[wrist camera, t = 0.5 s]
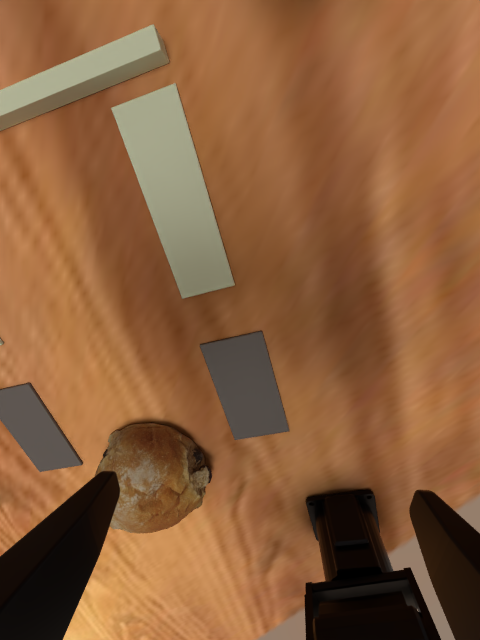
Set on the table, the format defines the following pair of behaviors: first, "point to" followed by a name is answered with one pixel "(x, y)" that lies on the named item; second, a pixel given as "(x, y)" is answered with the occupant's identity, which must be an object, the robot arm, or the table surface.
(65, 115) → the table surface
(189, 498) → the bread roll
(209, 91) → the table surface
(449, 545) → the robot arm
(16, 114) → the trap lane
